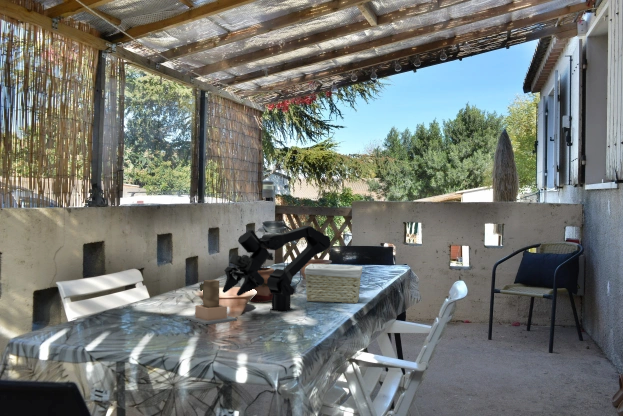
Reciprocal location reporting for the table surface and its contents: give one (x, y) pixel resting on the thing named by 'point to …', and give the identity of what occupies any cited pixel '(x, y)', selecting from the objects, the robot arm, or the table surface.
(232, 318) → the square socket holder
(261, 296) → the decorative planter
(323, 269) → the storage basket
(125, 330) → the table surface
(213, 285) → the walnut wood block
